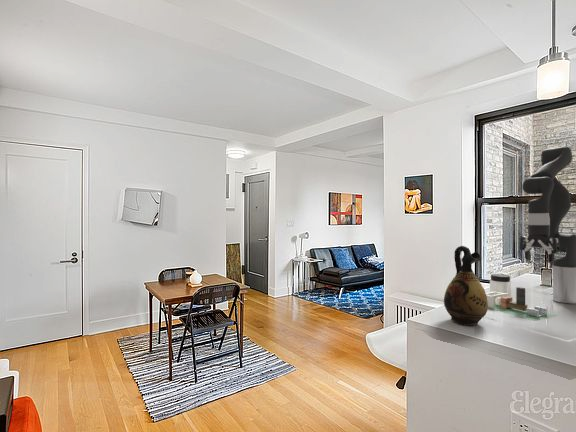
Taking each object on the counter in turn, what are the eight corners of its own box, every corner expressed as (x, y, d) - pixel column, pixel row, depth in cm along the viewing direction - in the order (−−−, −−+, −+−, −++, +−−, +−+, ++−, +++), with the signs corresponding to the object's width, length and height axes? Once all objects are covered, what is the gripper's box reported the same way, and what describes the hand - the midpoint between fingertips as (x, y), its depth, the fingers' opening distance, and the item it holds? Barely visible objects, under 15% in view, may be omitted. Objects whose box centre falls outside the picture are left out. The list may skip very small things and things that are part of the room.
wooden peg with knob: (507, 306, 148) (507, 284, 148) (529, 311, 140) (529, 288, 140) (500, 307, 146) (500, 285, 146) (522, 312, 138) (522, 289, 138)
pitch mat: (497, 302, 158) (497, 300, 158) (557, 316, 135) (557, 315, 135) (475, 305, 151) (475, 304, 151) (534, 321, 129) (534, 320, 129)
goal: (495, 301, 157) (495, 290, 157) (509, 305, 151) (509, 293, 151) (479, 304, 152) (479, 292, 152) (493, 308, 146) (493, 295, 146)
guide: (536, 313, 138) (536, 306, 138) (546, 315, 135) (546, 308, 135) (526, 315, 136) (526, 308, 136) (537, 317, 132) (537, 310, 132)
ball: (507, 299, 148) (505, 307, 149) (498, 295, 151) (497, 303, 152) (502, 300, 146) (500, 308, 147) (493, 296, 150) (491, 304, 150)
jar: (505, 302, 158) (505, 277, 158) (487, 298, 165) (487, 275, 165) (513, 299, 163) (513, 275, 163) (495, 296, 170) (495, 273, 169)
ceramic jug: (498, 327, 122) (498, 248, 122) (461, 330, 120) (461, 249, 120) (466, 314, 139) (466, 244, 139) (433, 316, 136) (433, 244, 136)
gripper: (563, 223, 134) (563, 262, 135) (526, 223, 147) (526, 258, 148) (552, 224, 131) (553, 264, 132) (515, 223, 144) (516, 260, 145)
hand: (539, 261), depth 140 cm, fingers open, 8 cm apart
